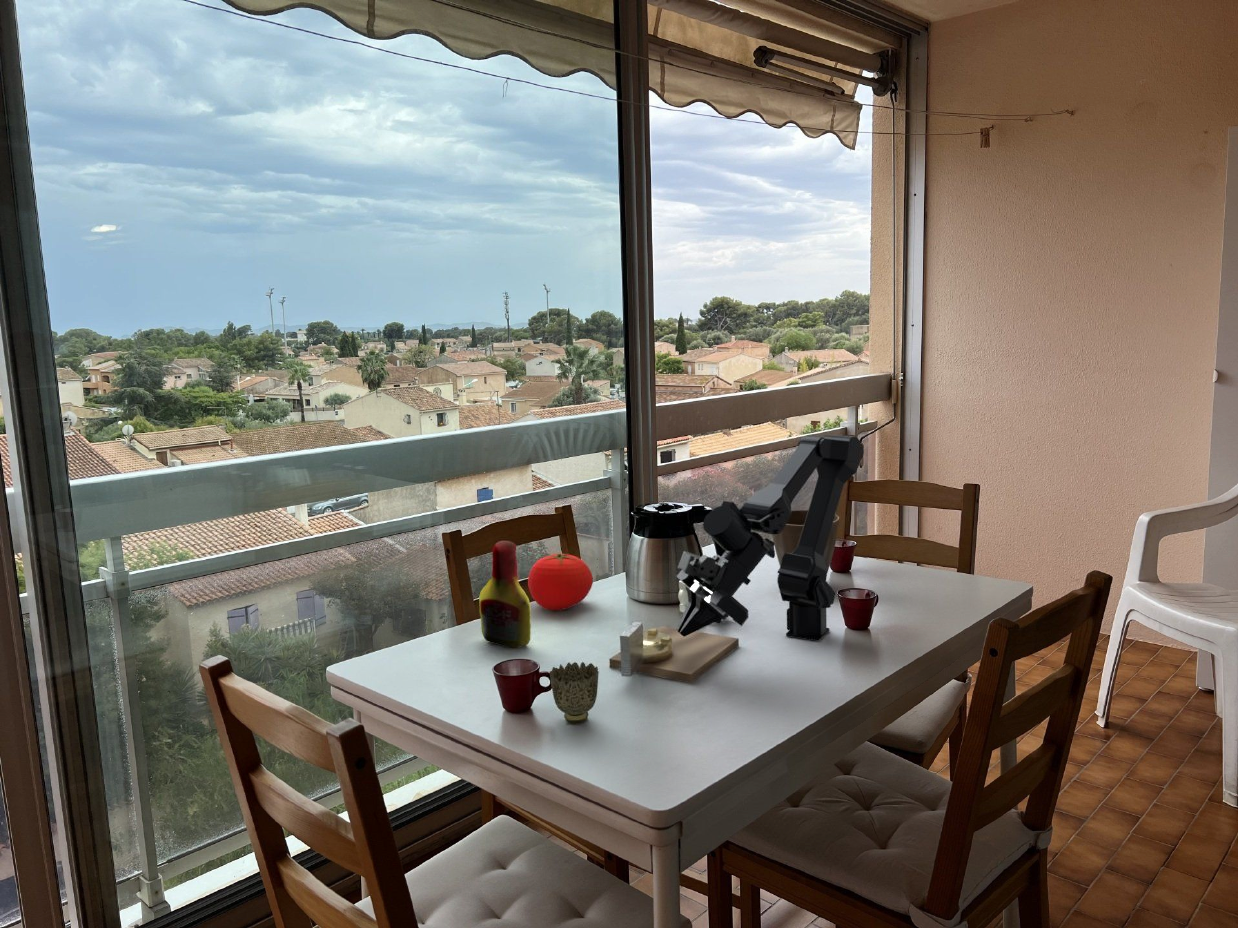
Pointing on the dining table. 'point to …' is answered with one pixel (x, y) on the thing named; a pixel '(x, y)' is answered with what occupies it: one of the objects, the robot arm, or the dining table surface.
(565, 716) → the cup
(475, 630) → the dining table surface
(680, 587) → the valve
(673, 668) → the walnut base
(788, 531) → the plant pot
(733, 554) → the robot arm
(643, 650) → the ring nut spanner
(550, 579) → the tomato
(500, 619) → the bottle
